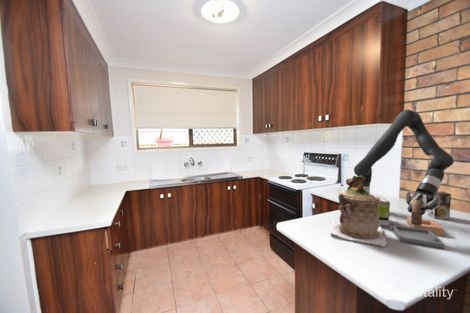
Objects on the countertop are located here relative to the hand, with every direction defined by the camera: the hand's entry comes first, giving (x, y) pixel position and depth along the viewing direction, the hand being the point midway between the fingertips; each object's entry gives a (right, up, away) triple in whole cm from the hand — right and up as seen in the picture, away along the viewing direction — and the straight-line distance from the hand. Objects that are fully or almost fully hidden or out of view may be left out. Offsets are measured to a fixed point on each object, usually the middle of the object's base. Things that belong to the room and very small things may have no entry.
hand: (414, 212), depth 102 cm
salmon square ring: (+16, -13, +12) cm, 23 cm away
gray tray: (+2, -13, +2) cm, 14 cm away
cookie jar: (-24, -14, +8) cm, 29 cm away
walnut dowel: (+2, -6, +1) cm, 6 cm away
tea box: (-4, -12, +25) cm, 28 cm away
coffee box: (+41, -11, +30) cm, 52 cm away
